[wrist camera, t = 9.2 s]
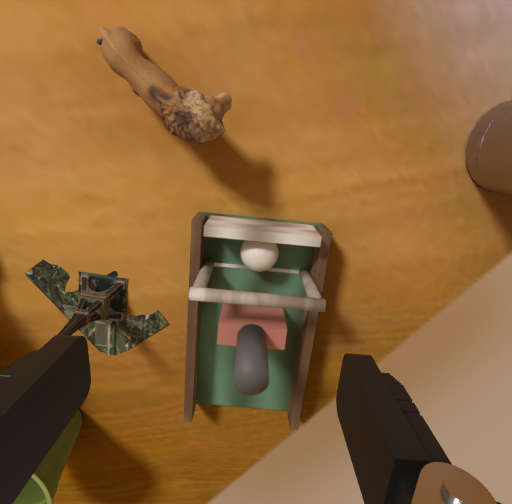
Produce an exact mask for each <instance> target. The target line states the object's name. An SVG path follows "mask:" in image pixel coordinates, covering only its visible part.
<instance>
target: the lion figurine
mask: <svg viewBox="0 0 512 504" xmlns="http://www.w3.org/2000/svg"><path fill="white" fill-rule="evenodd" d="M100 33H101V37H102V39H98V40H97V43H98V44H100V45H102V46H101V48H102V53H103V56H104V58H105V60H106V62H107V63H108V65H109V66H110V68H111V69H112V70H113V71H114V72H115V73H117V74H118V75H120V76H121V77H123V78H125V79H126V80H127V81H128V82H129V84H130V87H131V89H132V91H133V92H136V93H138V95H139V96H140V97H141V98H142V99H143V101H144V102H145V103H146V104H147V105H148V106H149V107H150V108H151V109H153V110H154V111H155V112H156V113H158V114H159V115H160V116H161V118H162V120H163V121H164V124H165V126H166V128H167V130H168V131H170V132H171V133H172V134H174V135H176V136H178V137H180V138H181V139H183V140H188V141H193V142H199V143H202V142H205V141H212V140H216V137H218V136H219V135H220V134H223V132H225V131H226V130H225V129H224V125H223V122H222V118H223V116H224V114H225V113H226V112H227V111H228V110H230V108H231V101H232V99H231V96H230V94H229V93H221V94H219V95H217V96H216V97H213V96H211V95H203V94H201V93H200V92H199V91H196V90H194V91H193V90H189V89H187V88H185V87H181V86H177V84H176V83H175V82H174V81H173V79H172V78H171V77H170V76H169V75H167V74H166V73H165V72H164V71H163V70H161V69H160V68H158V67H157V66H156V65H154V64H153V63H151V62H150V61H148V60H146V59H145V58H144V57H143V56H142V46H141V44H140V41H139V40H138V38H137V37H136V35H134V34H133V33H131V32H130V31H128V30H127V29H126V28H124V27H114V28H113V29H112V30H111V31H110V30H108V29H107V28H105V27H103V28H101V32H100Z"/></svg>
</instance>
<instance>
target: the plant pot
mask: <svg viewBox="0 0 512 504" xmlns="http://www.w3.org/2000/svg"><path fill="white" fill-rule="evenodd" d="M82 422H83V421H82V415H81V413H80V411H79V409H78V411H77V412H76V414H75V415H74V416H73V418H72V419H71V421H70V422H69V424H68V425H67V426H66V428H65V429H64V431H63V432H62V434H61V435H60V437H59V438H58V439H57V441H56V442H55V444H54V445H53V447H52V448H51V449H50V451H49V452H48V454H47V455H46V457H45V458H44V459H43V461H42V462H41V464H40V465H39V467H38V468H37V469H36V471H35V472H34V474H33V475H32V477H31V478H30V479H29V481H28V482H27V484H26V485H25V487H24V488H23V490H22V491H21V492H20V494H19V495H18V497H17V498H16V500H15V501H14V502H13V504H53V498H54V496H55V493H56V491H57V487H58V482H59V479H60V477H61V474H62V472H63V470H64V467H65V465H66V463H67V460H68V458H69V455H70V453H71V451H72V448H73V446H74V444H75V441H76V439H77V437H78V434H79V432H80V429H81V427H82Z"/></svg>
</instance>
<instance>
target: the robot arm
mask: <svg viewBox="0 0 512 504" xmlns="http://www.w3.org/2000/svg"><path fill="white" fill-rule="evenodd" d="M466 164H467V168H468V171H469V173H470V175H471V177H472V179H473V180H474V181H475V182H476V183H477V184H478V185H479V186H481V187H483V188H484V189H487V190H490V191H493V192H499V193H505V194H511V195H512V100H511V101H508V102H505V103H502V104H500V105H498V106H497V107H495V108H493V109H492V110H490V111H489V112H488V113H487V114H486V115H484V116H483V118H482V119H481V120H480V121H479V122H478V123H477V125H476V126H475V128H474V130H473V131H472V133H471V136H470V138H469V141H468V144H467V149H466ZM90 384H91V374H90V365H89V355H88V346H87V340H86V338H85V337H83V336H70V335H56V336H54V337H53V338H52V339H51V340H50V341H49V342H47V343H46V344H45V345H44V346H43V347H42V348H41V349H40V350H39V351H33V352H31V353H29V354H27V355H26V356H24V357H22V358H20V359H18V360H16V361H15V362H13V363H12V364H11V365H10V366H9V367H8V368H6V369H5V370H4V371H3V372H2V373H1V374H0V504H13V502H14V501H15V500H16V498H17V497H18V495H19V494H20V492H21V491H22V490H23V488H24V487H25V485H26V484H27V482H28V481H29V479H30V478H31V477H32V475H33V474H34V472H35V471H36V469H37V468H38V467H39V465H40V464H41V462H42V461H43V459H44V458H45V457H46V455H47V454H48V452H49V451H50V449H51V448H52V447H53V445H54V444H55V442H56V441H57V439H58V438H59V437H60V435H61V434H62V432H63V431H64V429H65V428H66V426H67V425H68V424H69V422H70V421H71V419H72V418H73V416H74V415H75V414H76V412H77V411H78V409H79V408H80V406H81V405H82V404H83V402H84V401H85V399H86V397H87V395H88V392H89V389H90ZM336 403H337V413H338V417H339V421H340V424H341V427H342V430H343V434H344V437H345V441H346V444H347V447H348V450H349V454H350V457H351V460H352V464H353V467H354V470H355V474H356V477H357V480H358V484H359V487H360V490H361V493H362V496H363V500H364V503H365V504H501V503H498V502H496V501H495V499H494V498H493V496H492V495H491V493H490V492H489V491H488V490H487V489H486V488H485V487H484V485H483V484H482V483H481V482H479V481H478V480H477V479H476V478H475V477H473V476H472V475H470V474H469V473H468V472H466V471H464V470H463V469H461V468H458V467H456V466H454V465H452V464H451V462H450V461H449V459H448V458H447V456H446V454H445V452H444V451H443V449H442V448H441V446H440V444H439V443H438V441H437V440H436V438H435V436H434V435H433V433H432V432H431V430H430V428H429V427H428V425H427V424H426V422H425V420H424V419H423V417H422V416H420V413H419V411H418V409H417V407H416V406H415V404H414V403H412V399H411V398H410V396H409V394H408V393H407V391H406V390H405V388H404V386H403V385H401V383H399V382H398V381H397V380H396V379H395V378H394V377H393V376H391V375H390V374H389V373H381V372H380V370H379V368H378V366H377V365H376V363H375V361H374V359H373V358H372V356H371V355H361V354H345V355H344V357H343V362H342V367H341V373H340V379H339V384H338V390H337V397H336Z"/></svg>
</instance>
